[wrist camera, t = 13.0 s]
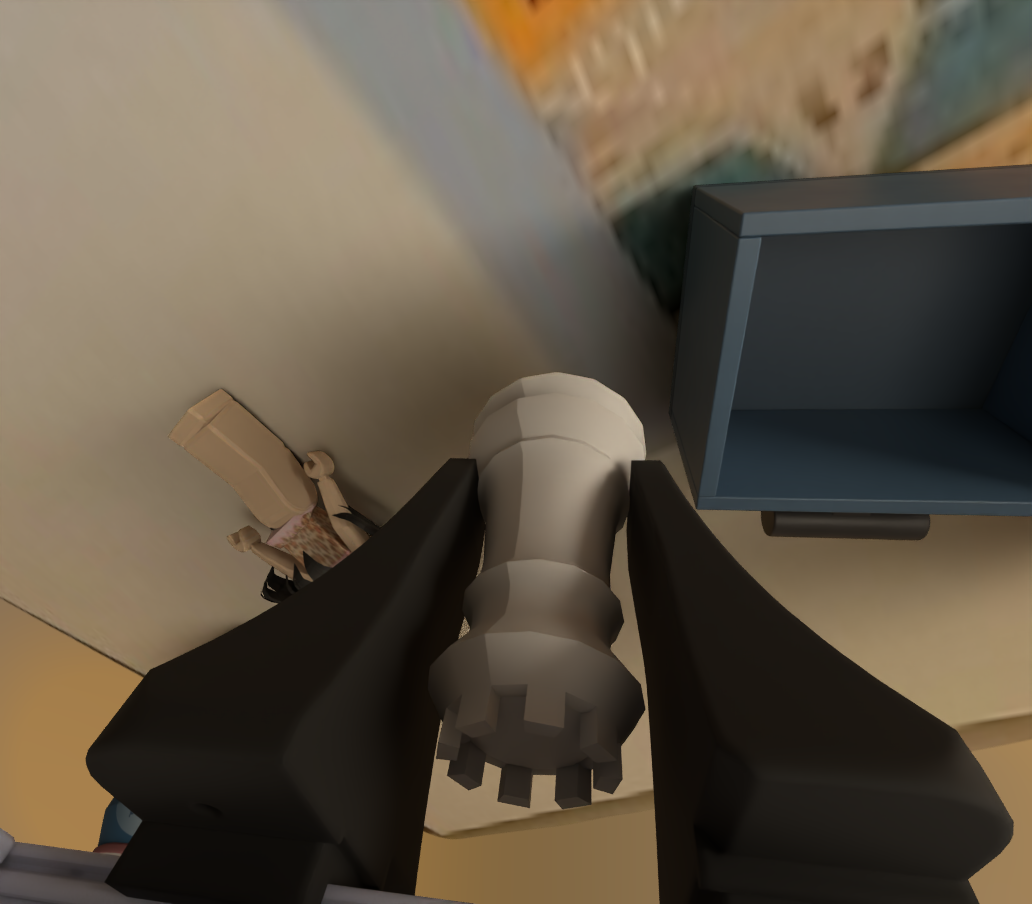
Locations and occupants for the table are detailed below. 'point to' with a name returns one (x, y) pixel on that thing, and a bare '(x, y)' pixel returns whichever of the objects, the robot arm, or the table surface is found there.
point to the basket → (858, 350)
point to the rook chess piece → (544, 596)
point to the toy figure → (274, 494)
